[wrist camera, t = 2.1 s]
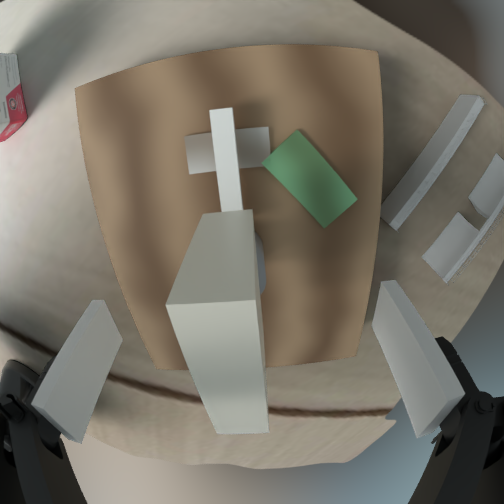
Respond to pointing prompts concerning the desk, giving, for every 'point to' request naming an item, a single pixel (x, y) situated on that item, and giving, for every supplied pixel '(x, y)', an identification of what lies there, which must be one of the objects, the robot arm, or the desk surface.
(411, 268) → the desk surface
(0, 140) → the ink box
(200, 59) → the brown wavy board
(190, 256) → the white piece
